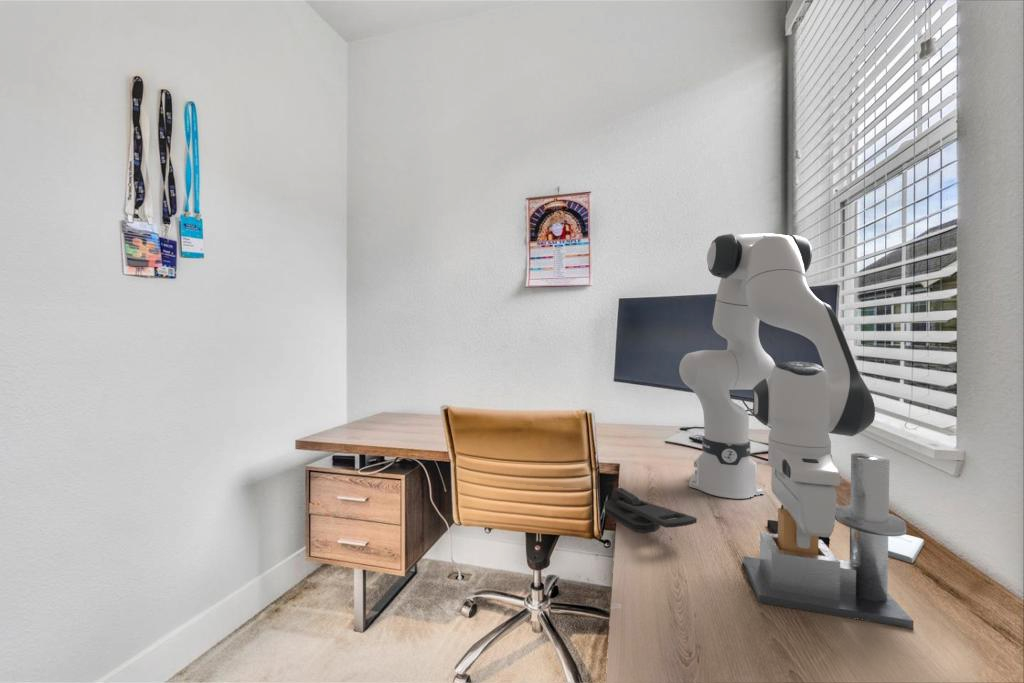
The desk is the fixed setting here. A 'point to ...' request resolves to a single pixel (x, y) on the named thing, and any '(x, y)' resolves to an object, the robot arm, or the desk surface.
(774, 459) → the robot arm
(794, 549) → the wedge pin
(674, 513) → the zipper pull
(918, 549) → the external hard drive
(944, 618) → the desk surface
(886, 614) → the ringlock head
